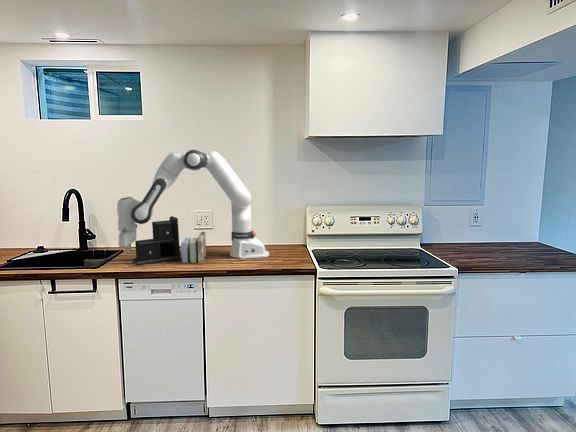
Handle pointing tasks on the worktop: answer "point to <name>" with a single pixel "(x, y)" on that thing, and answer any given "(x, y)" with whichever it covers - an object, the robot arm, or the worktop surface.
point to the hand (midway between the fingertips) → (128, 252)
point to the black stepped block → (159, 244)
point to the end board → (201, 247)
